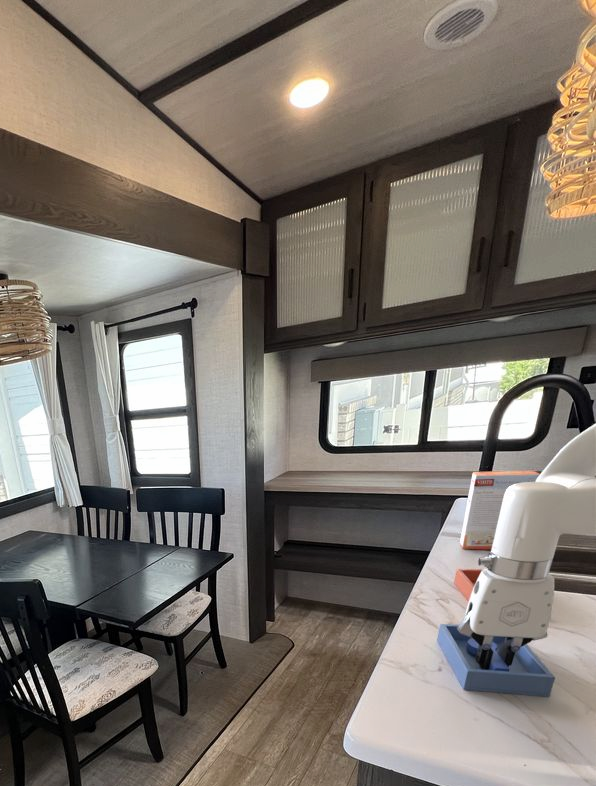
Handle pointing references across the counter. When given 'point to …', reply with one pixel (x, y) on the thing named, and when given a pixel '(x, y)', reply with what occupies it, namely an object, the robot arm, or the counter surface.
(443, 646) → the blue bin
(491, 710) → the counter surface
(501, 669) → the blue keyhole shape
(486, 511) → the cracker box
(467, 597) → the terracotta bin
